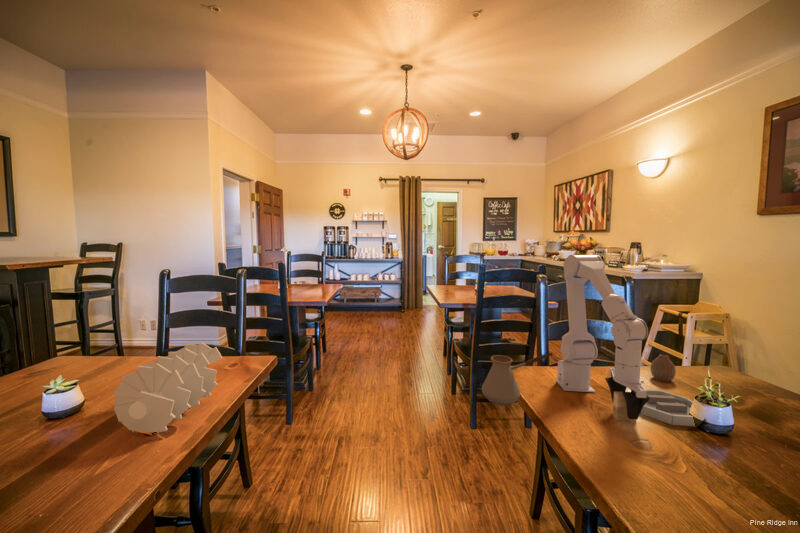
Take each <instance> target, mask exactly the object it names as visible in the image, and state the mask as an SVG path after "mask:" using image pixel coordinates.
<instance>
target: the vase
mask: <svg viewBox="0 0 800 533" xmlns="http://www.w3.org/2000/svg"><path fill="white" fill-rule="evenodd" d="M676 372H677V370H676V367H675V364H674V363H673V362H672V360H671V359H670V357H669V355H667V354H663V353H660V354H659V355H658V356H657V357H656V358H655V359H654V360H652V361H651V364H650V374H651V375H652V377H653V378H654V379H655V380H657V381H659V382H665V383H668V382H671V381H673V380H674V378H675V377H676Z"/></svg>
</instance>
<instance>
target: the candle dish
mask: <svg viewBox="0 0 800 533" xmlns="http://www.w3.org/2000/svg"><path fill="white" fill-rule="evenodd" d="M644 389H645V388H644ZM645 390H646V391H647V394H646V395H648V396H649V397H650V399H649V401H648V402H647V403H646V404H645V405H644V406H643V408H642V410H641V412H640V414H641V415H643V416H646V417H648V418H651V419H654V420H657V421H659V422H663V423H665V424H668V425H671V426H684V427H685V426H686V427H696V426H695V423H694V420H693V416H691V415H689V411H690V407H691V405H692V403H693V402H694V401H693V400H692V399H690V398H688V397H686V396H682V395H678V394H676V393H671V392H668V391H665V390H662V389H661V390H660V389H648V388H647V389H645Z"/></svg>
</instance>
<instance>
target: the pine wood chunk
mask: <svg viewBox="0 0 800 533" xmlns="http://www.w3.org/2000/svg"><path fill="white" fill-rule="evenodd" d="M612 403H613V405H612V406H613V407H612V417H613V418H614V419H615V420H617V421H629V422H630V421H632V422H633V421H634V422H637V420H636V419H629V418H628V416H627V406H626V401H625V398H624V395H623V393H622V392H614V402H613V401H612Z"/></svg>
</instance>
